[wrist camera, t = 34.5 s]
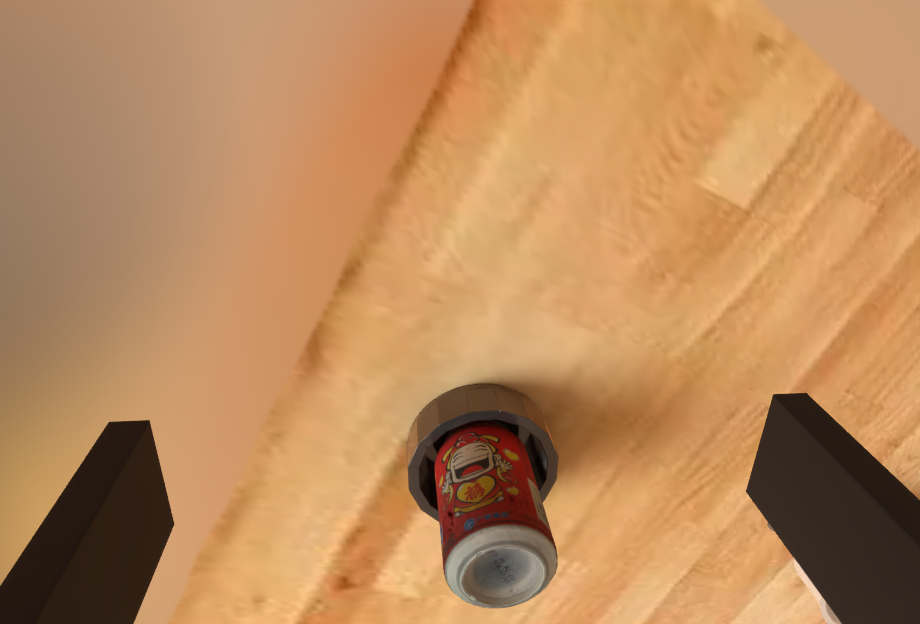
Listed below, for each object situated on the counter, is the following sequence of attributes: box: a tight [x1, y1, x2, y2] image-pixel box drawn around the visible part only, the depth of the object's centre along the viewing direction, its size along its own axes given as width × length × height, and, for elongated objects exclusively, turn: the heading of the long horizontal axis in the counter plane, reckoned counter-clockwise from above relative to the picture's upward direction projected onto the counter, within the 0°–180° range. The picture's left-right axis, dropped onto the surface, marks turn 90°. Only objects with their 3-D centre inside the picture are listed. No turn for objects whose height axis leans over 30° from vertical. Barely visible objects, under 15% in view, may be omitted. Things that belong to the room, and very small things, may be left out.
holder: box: [407, 384, 558, 521], centre depth 48 cm, size 11×11×4 cm
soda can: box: [434, 420, 557, 608], centre depth 43 cm, size 7×7×12 cm
